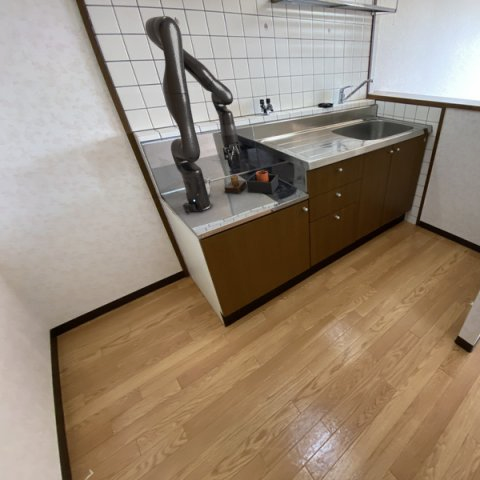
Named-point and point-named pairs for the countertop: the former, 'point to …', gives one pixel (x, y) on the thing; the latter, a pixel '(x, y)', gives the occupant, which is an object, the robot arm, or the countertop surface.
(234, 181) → the tap knob
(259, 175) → the cup
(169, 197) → the countertop surface
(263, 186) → the basin
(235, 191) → the tap block
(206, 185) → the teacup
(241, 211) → the countertop surface
